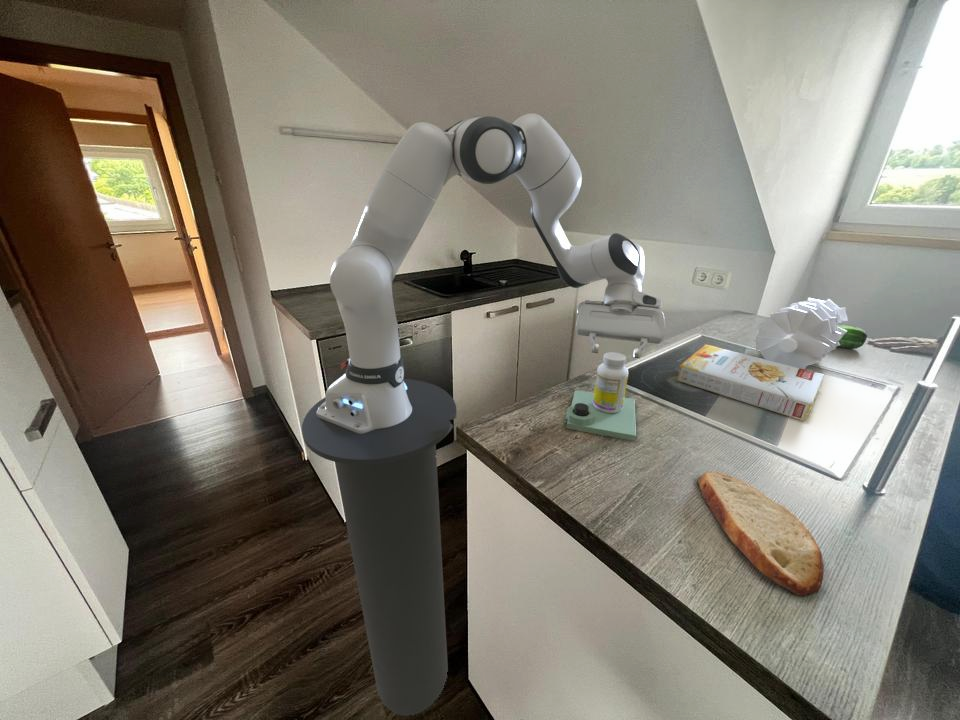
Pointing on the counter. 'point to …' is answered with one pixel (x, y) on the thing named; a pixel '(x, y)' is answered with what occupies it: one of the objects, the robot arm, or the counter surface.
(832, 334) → the spiral staircase
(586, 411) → the button
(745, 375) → the cereal box
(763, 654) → the counter surface
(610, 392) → the supplement bottle
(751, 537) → the bread slice
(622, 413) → the scale
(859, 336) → the vegetable
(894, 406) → the counter surface
